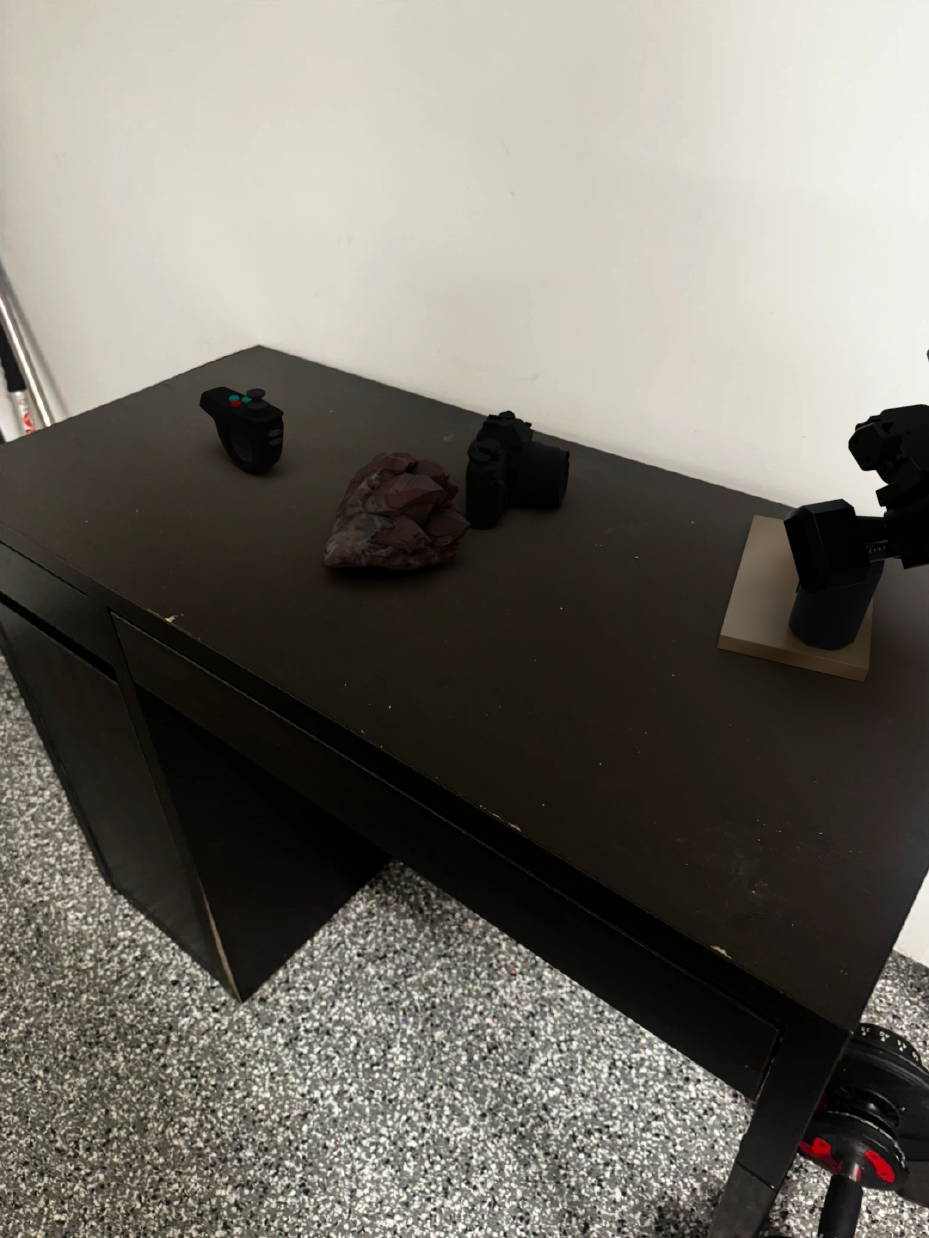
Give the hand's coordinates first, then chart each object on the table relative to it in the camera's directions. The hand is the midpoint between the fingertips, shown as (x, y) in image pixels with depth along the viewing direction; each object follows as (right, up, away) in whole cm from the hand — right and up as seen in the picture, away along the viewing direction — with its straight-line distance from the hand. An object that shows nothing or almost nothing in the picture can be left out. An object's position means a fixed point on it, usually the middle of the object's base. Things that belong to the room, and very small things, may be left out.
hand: (838, 557), depth 73 cm
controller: (-56, +13, +31) cm, 65 cm away
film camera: (-25, +8, +24) cm, 36 cm away
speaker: (0, -6, +3) cm, 7 cm away
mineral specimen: (-37, +1, +15) cm, 40 cm away
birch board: (+1, -3, +10) cm, 10 cm away
